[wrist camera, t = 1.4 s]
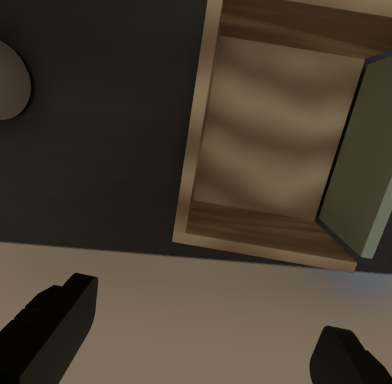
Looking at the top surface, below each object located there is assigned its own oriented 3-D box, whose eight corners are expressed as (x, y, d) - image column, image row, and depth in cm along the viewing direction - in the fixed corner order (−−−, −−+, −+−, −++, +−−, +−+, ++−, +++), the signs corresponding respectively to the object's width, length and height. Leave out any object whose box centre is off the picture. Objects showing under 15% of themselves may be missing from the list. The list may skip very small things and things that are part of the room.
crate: (212, 28, 27) (212, -30, 17) (360, 52, 27) (455, 9, 16) (184, 202, 33) (172, 241, 22) (307, 223, 33) (353, 272, 22)
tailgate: (367, 64, 26) (445, 36, 17) (383, 67, 26) (469, 40, 17) (318, 218, 31) (360, 256, 22) (331, 220, 31) (379, 259, 22)
